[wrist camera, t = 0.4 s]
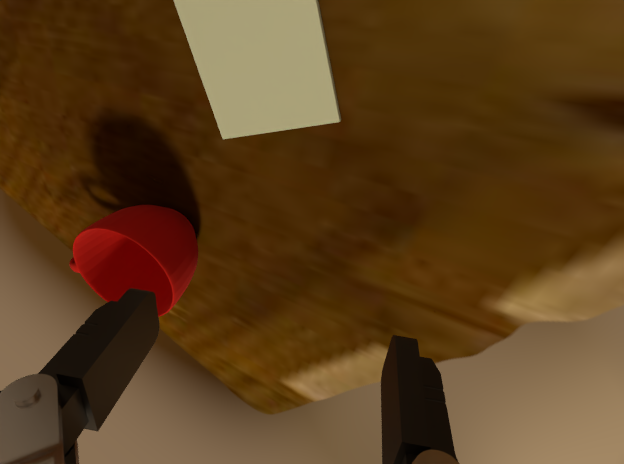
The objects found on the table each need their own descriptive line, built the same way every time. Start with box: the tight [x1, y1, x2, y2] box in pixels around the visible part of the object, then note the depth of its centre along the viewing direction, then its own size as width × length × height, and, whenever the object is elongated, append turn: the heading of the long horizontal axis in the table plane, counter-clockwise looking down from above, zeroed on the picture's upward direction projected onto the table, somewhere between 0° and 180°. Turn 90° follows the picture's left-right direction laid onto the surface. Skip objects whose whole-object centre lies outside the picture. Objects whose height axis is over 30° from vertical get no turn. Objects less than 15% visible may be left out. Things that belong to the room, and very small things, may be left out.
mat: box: [174, 0, 341, 139], centre depth 35 cm, size 18×13×1 cm
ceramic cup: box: [70, 205, 198, 317], centre depth 49 cm, size 13×17×10 cm
